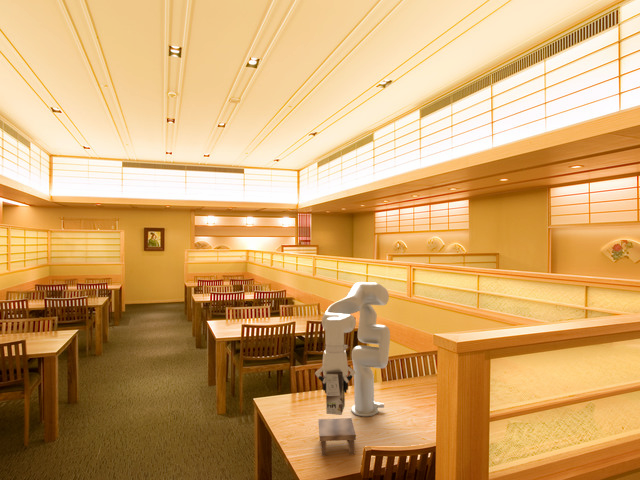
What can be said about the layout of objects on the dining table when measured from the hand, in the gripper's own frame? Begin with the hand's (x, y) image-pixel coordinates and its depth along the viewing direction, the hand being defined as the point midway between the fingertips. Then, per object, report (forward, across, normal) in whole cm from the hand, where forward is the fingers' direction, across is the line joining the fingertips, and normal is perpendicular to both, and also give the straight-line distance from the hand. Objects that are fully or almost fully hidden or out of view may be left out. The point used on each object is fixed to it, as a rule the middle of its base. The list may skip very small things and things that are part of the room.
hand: (335, 391), depth 159 cm
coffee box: (+8, 0, 0) cm, 8 cm away
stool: (+22, 0, 0) cm, 22 cm away
